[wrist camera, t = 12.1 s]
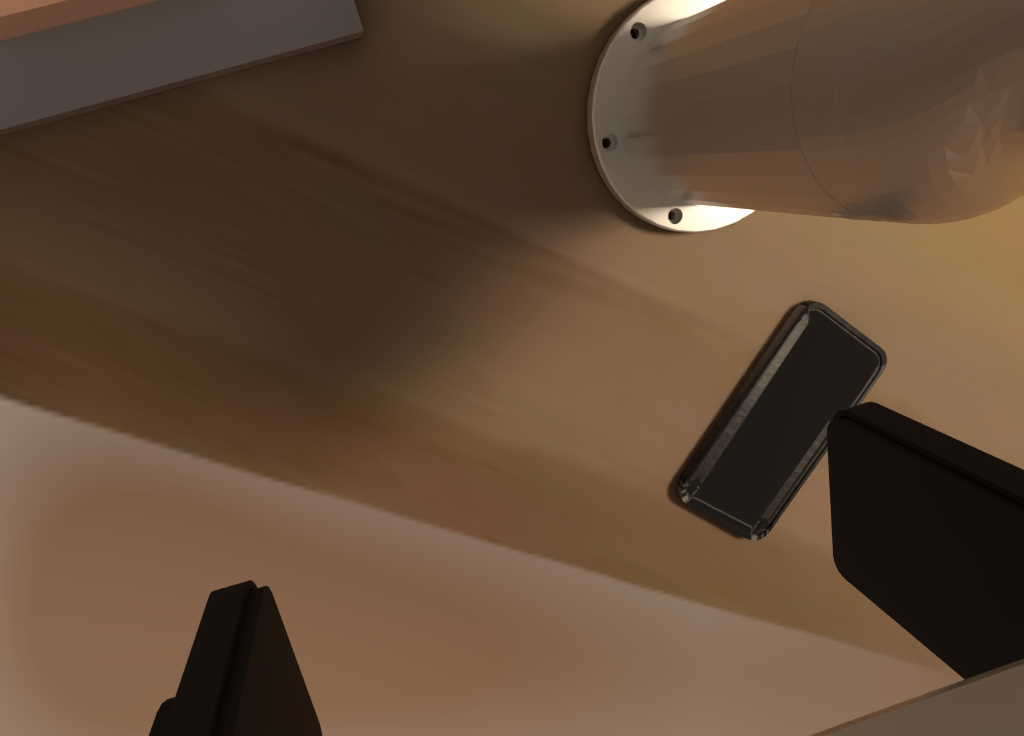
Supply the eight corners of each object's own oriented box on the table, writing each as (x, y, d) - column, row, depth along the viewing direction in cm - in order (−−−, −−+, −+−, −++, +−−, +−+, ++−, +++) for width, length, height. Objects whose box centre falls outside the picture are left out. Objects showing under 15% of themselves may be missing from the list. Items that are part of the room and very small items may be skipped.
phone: (674, 497, 43) (813, 295, 42) (666, 490, 44) (801, 292, 43) (760, 546, 46) (894, 358, 44) (751, 538, 47) (882, 353, 45)
